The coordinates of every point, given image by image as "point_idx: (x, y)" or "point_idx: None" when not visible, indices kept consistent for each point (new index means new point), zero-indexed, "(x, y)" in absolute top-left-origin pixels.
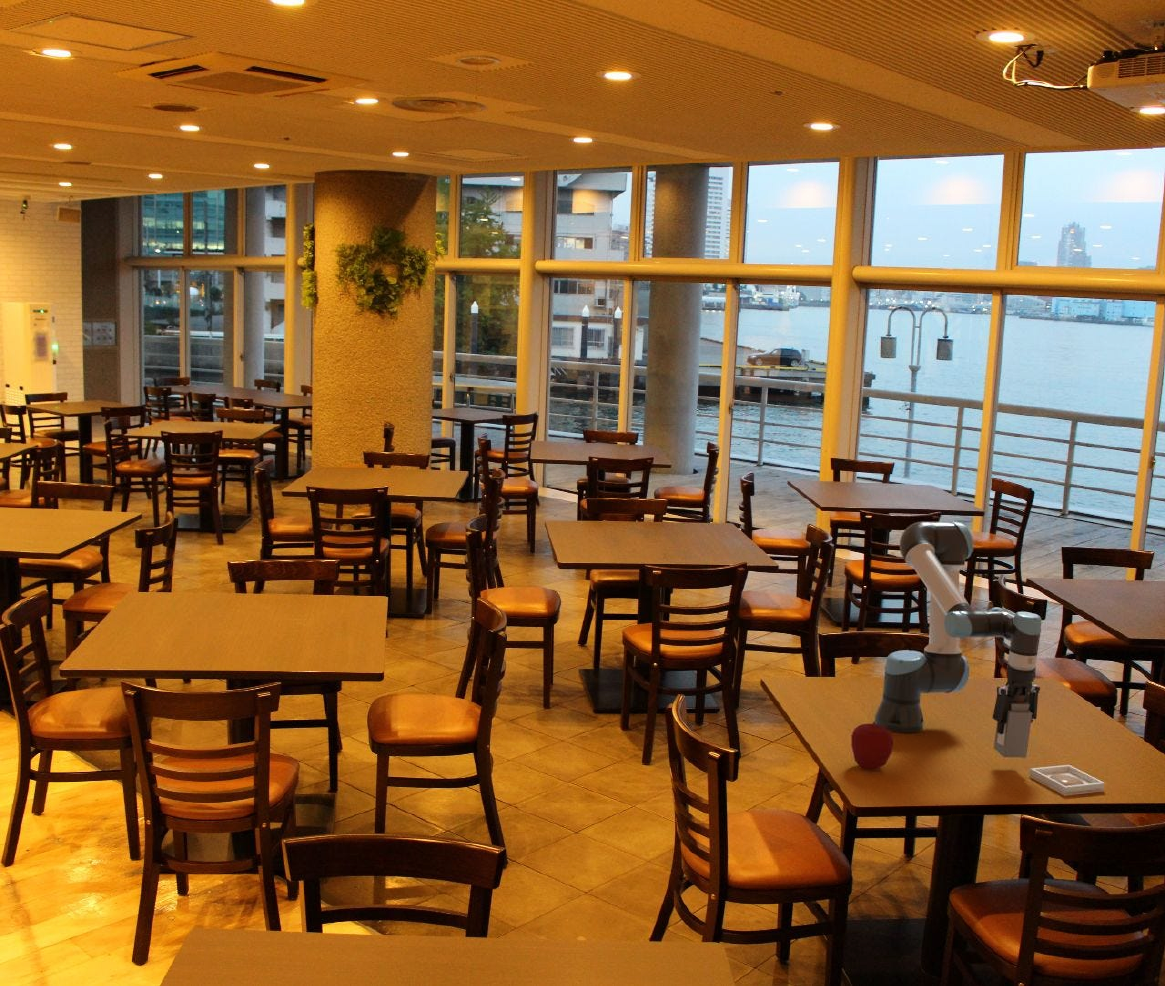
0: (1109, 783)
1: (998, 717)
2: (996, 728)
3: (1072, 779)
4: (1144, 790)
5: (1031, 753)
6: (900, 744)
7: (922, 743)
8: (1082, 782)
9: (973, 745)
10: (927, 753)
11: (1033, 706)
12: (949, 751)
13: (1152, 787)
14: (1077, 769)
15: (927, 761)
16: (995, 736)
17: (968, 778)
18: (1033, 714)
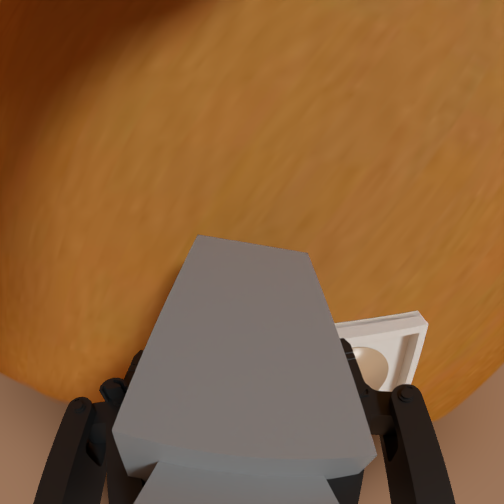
0: (444, 367)
1: (87, 450)
2: (173, 285)
3: (369, 375)
4: (465, 389)
5: (434, 142)
6: (15, 43)
7: (74, 17)
8: (376, 389)
9: (256, 21)
10: (40, 107)
11: (393, 498)
12: (116, 79)
13: (488, 375)
14: (418, 354)
15: (17, 178)
16: (185, 261)
17: (80, 310)
18: (383, 450)
